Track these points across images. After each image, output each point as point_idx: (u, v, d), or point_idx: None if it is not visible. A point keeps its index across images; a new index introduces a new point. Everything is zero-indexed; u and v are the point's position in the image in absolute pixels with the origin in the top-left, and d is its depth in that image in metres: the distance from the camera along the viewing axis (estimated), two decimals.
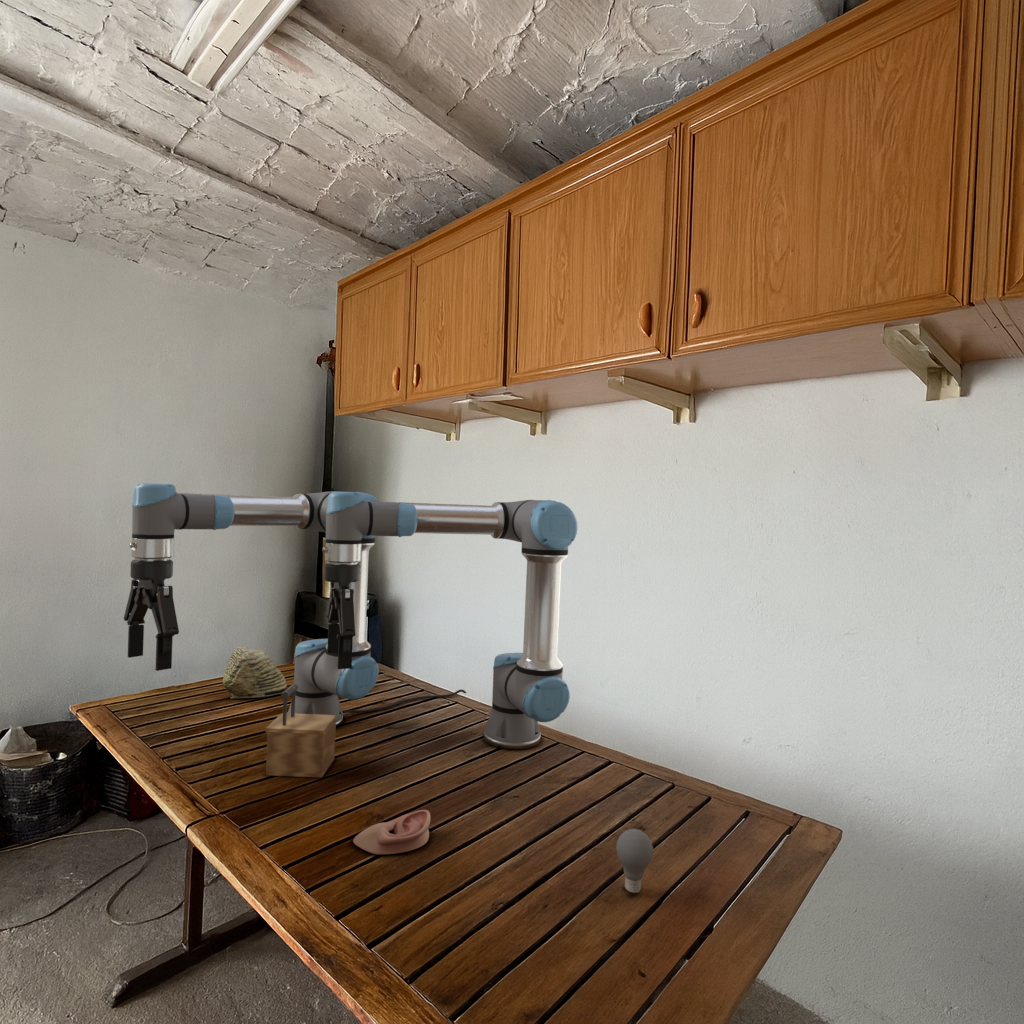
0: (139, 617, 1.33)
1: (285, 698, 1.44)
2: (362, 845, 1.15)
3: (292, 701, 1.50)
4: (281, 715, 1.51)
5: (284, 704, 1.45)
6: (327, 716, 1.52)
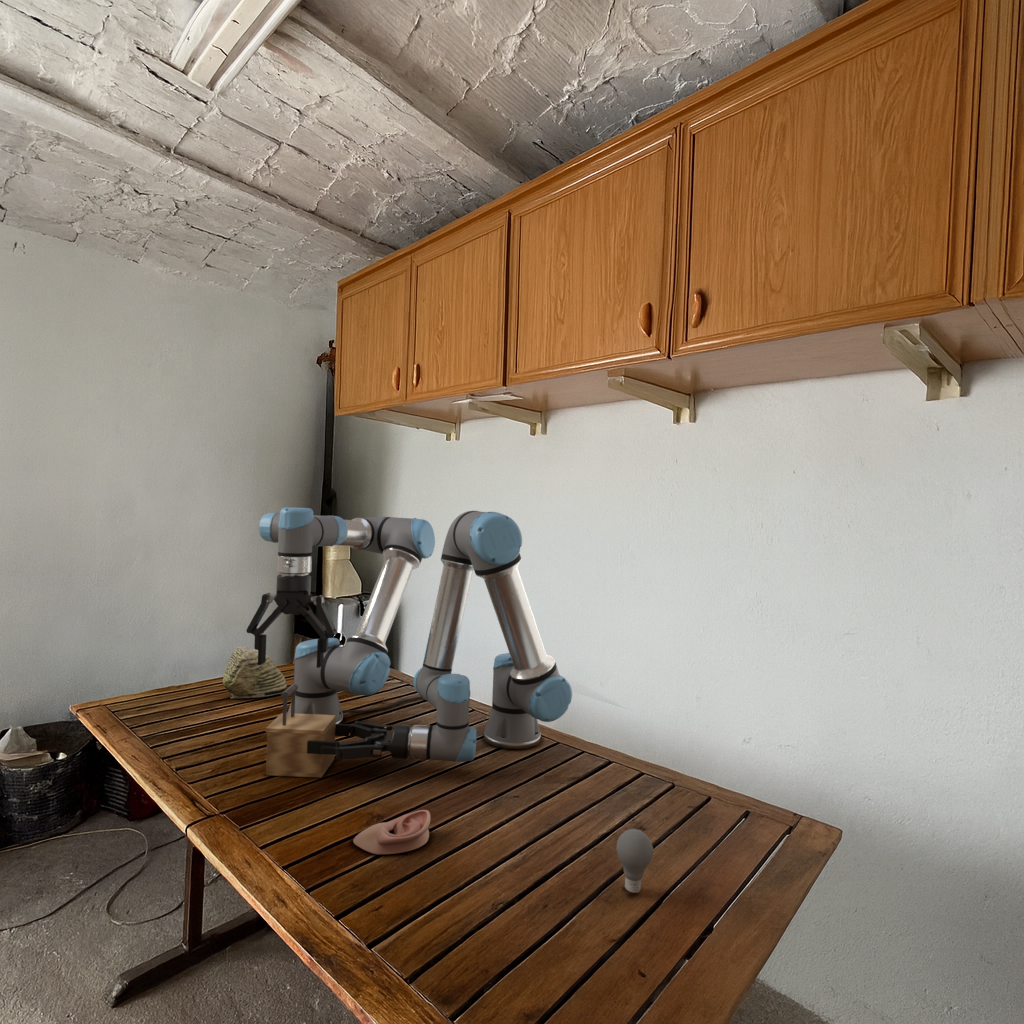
0: (266, 627, 1.47)
1: (285, 698, 1.44)
2: (362, 845, 1.15)
3: (292, 701, 1.50)
4: (281, 715, 1.51)
5: (284, 704, 1.45)
6: (327, 716, 1.52)
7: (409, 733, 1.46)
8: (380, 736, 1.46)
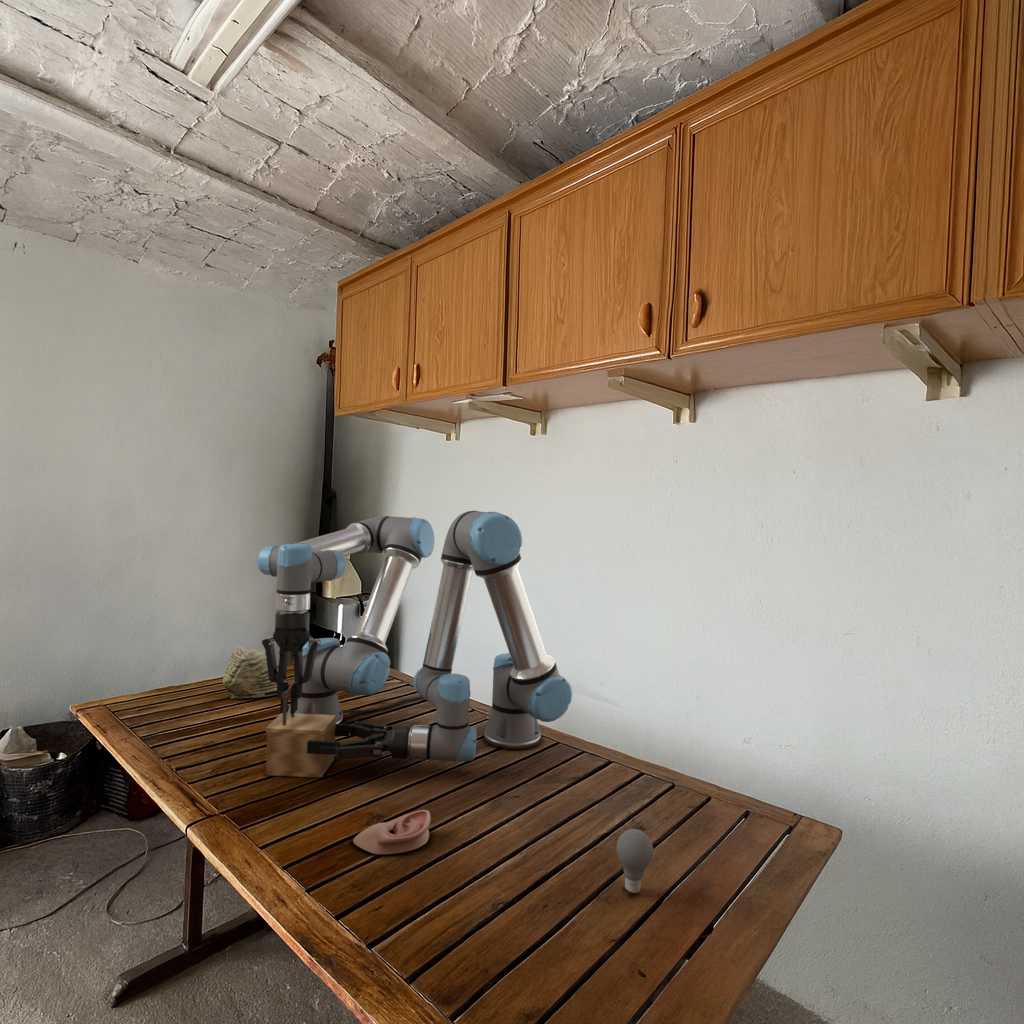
0: (285, 672, 1.48)
1: (285, 698, 1.44)
2: (362, 845, 1.15)
3: None
4: (281, 715, 1.51)
5: (284, 704, 1.45)
6: (327, 716, 1.52)
7: (409, 733, 1.46)
8: (380, 736, 1.46)
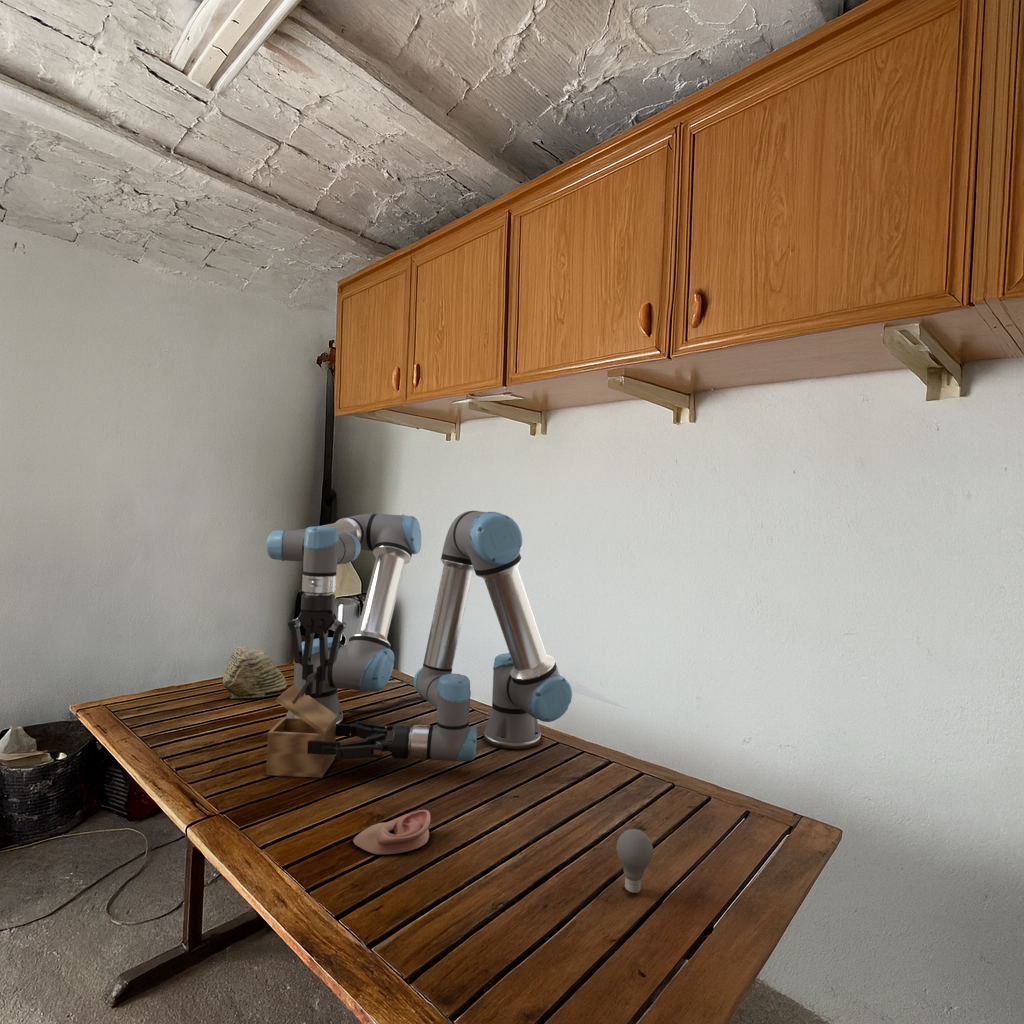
0: (310, 654, 1.48)
1: (309, 681, 1.44)
2: (362, 845, 1.15)
3: None
4: (292, 687, 1.51)
5: (305, 686, 1.44)
6: (330, 713, 1.52)
7: (409, 733, 1.46)
8: (380, 736, 1.46)
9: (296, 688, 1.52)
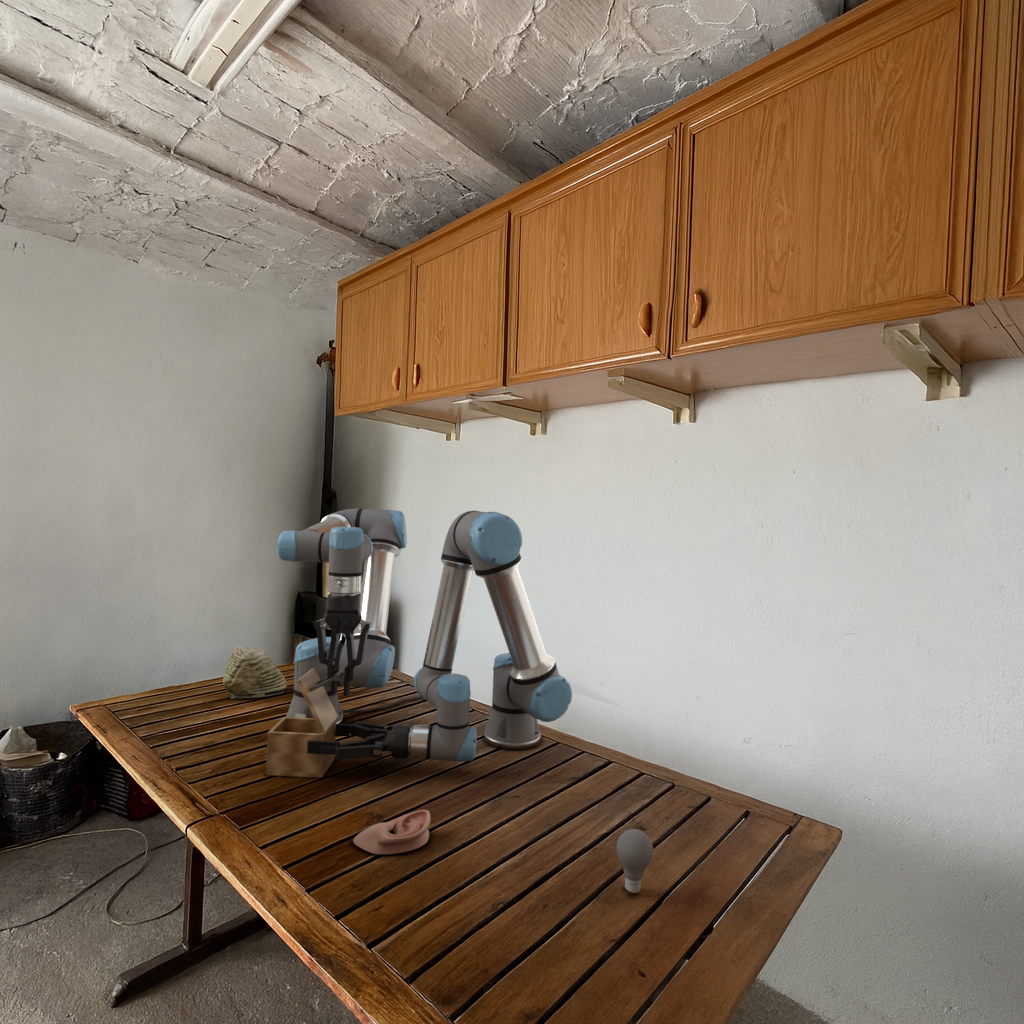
0: (335, 654, 1.48)
1: (334, 679, 1.44)
2: (362, 845, 1.15)
3: None
4: (312, 671, 1.51)
5: (328, 681, 1.44)
6: (333, 711, 1.52)
7: (409, 733, 1.46)
8: (380, 736, 1.46)
9: (315, 673, 1.52)
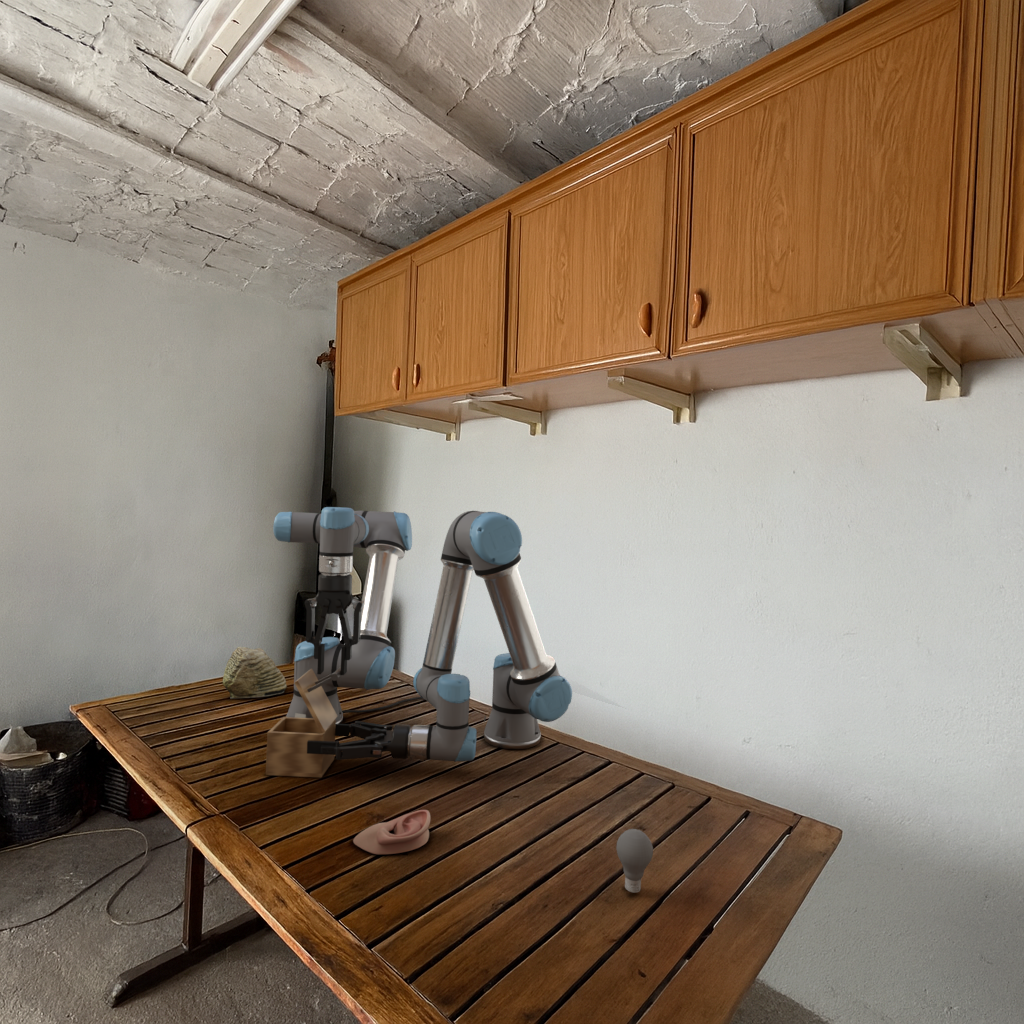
0: (322, 634, 1.48)
1: (332, 679, 1.44)
2: (362, 845, 1.15)
3: (329, 676, 1.50)
4: (310, 672, 1.51)
5: (326, 681, 1.44)
6: (332, 711, 1.52)
7: (409, 733, 1.46)
8: (380, 736, 1.46)
9: (313, 674, 1.52)
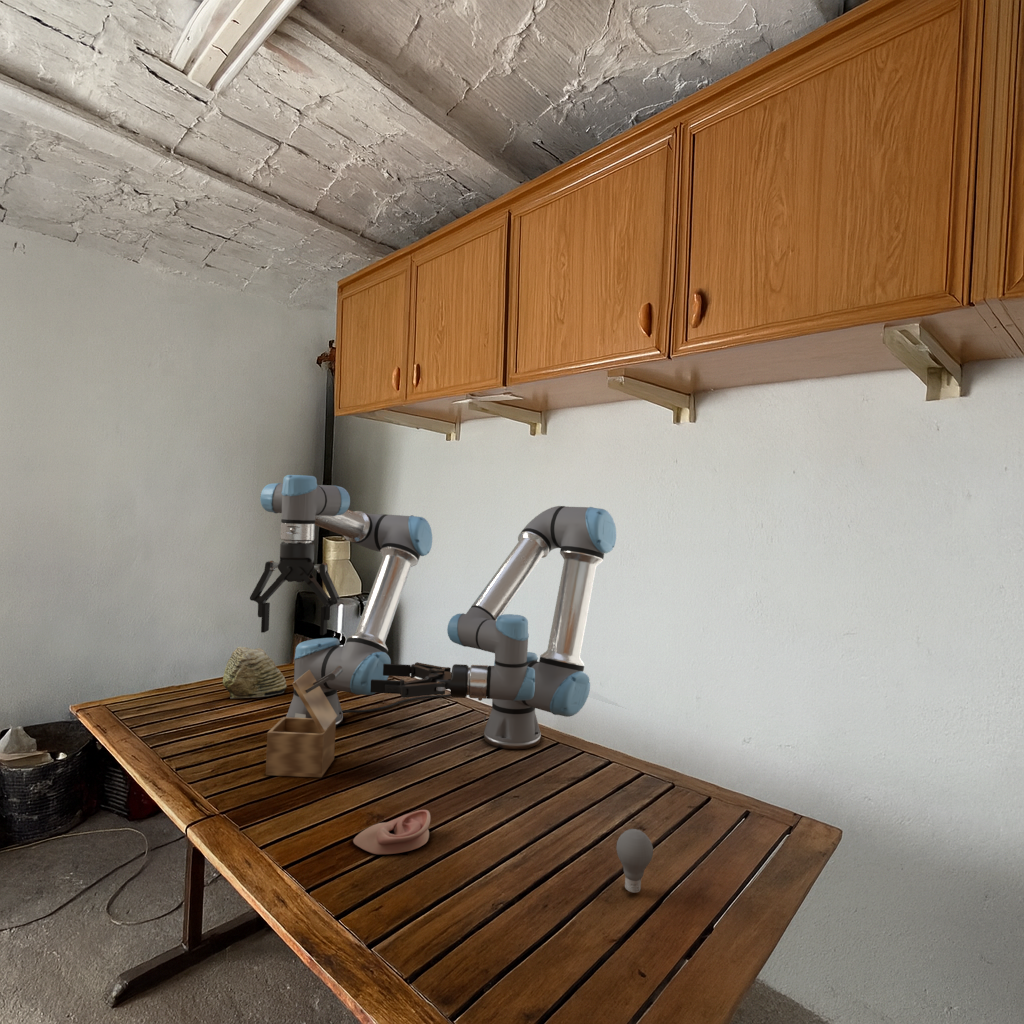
0: (270, 595, 1.47)
1: (329, 678, 1.44)
2: (362, 845, 1.15)
3: (327, 676, 1.50)
4: (308, 673, 1.51)
5: (323, 681, 1.44)
6: (332, 711, 1.52)
7: (468, 672, 1.46)
8: (440, 675, 1.45)
9: (311, 675, 1.52)
